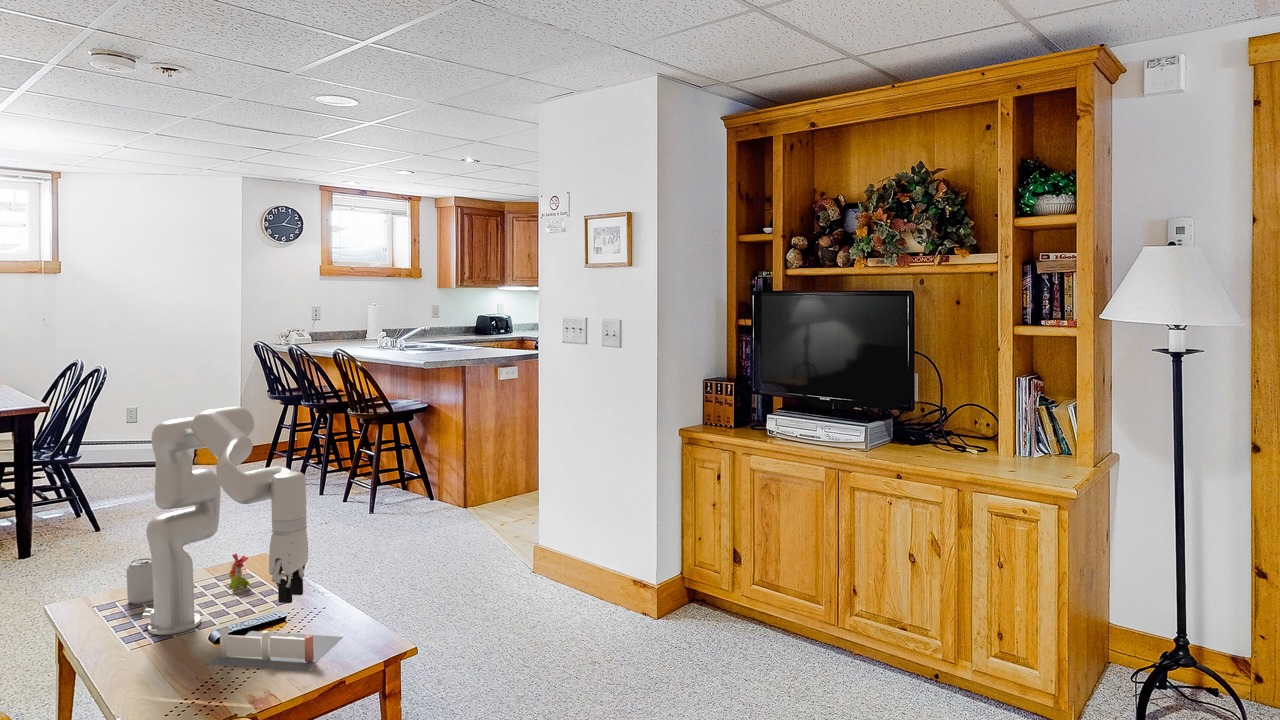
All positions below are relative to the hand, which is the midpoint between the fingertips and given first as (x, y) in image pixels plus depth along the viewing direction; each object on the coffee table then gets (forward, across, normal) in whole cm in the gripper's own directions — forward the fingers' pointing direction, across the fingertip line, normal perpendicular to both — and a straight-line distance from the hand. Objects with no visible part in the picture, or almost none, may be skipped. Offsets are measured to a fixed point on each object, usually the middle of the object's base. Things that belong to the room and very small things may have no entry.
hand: (290, 597), depth 187 cm
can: (+20, -36, -67) cm, 79 cm away
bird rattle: (+20, -50, -46) cm, 70 cm away
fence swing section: (+18, -6, -3) cm, 19 cm away
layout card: (+19, -10, -10) cm, 24 cm away
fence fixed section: (+19, -6, -16) cm, 25 cm away
